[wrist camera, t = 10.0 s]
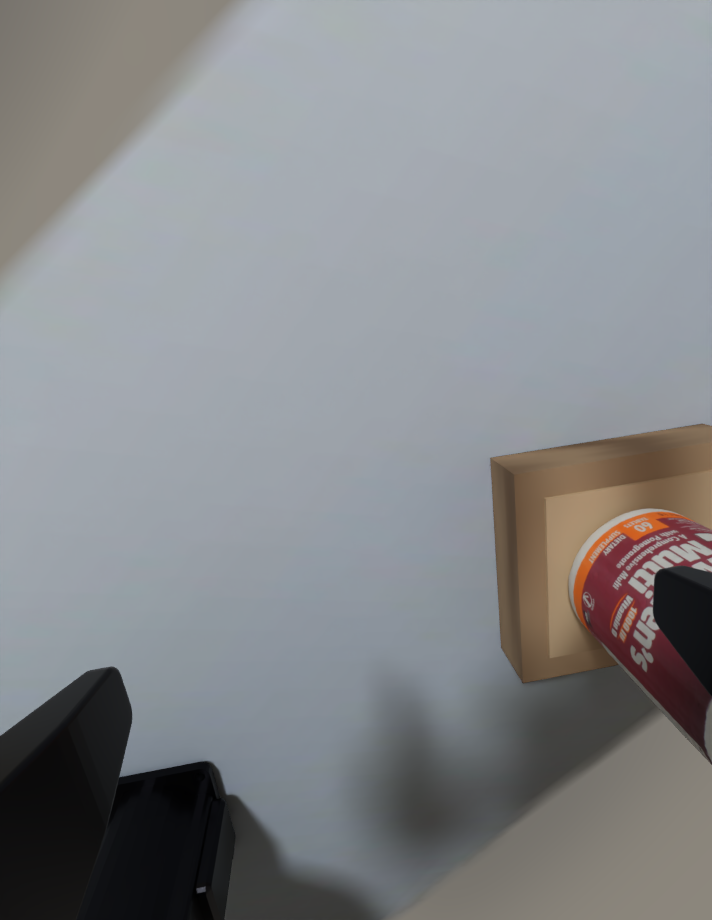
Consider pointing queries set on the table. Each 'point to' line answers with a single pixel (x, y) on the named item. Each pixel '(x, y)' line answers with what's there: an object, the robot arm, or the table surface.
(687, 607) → the robot arm
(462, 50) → the table surface
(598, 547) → the pill bottle
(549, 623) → the base plate
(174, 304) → the table surface
